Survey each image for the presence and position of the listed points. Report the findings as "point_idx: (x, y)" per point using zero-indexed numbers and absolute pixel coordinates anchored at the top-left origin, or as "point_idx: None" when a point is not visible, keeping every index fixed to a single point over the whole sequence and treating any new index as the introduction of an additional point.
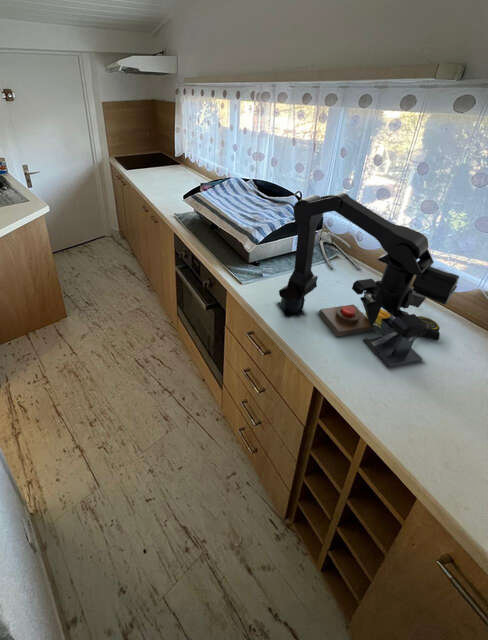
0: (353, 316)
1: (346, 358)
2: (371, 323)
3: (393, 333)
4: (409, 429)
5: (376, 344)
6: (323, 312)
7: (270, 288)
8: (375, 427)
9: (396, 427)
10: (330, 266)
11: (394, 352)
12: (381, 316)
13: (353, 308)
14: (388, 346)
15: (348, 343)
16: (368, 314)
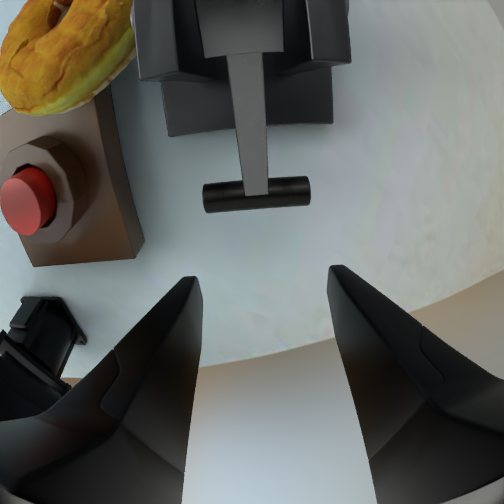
0: (47, 178)
1: (256, 258)
2: (199, 305)
3: (240, 69)
4: (481, 222)
5: (264, 182)
6: (45, 265)
7: (4, 324)
8: (447, 288)
9: (467, 247)
10: None
11: (292, 73)
12: (55, 63)
13: (9, 182)
14: (224, 56)
15: (179, 214)
16: (189, 427)
